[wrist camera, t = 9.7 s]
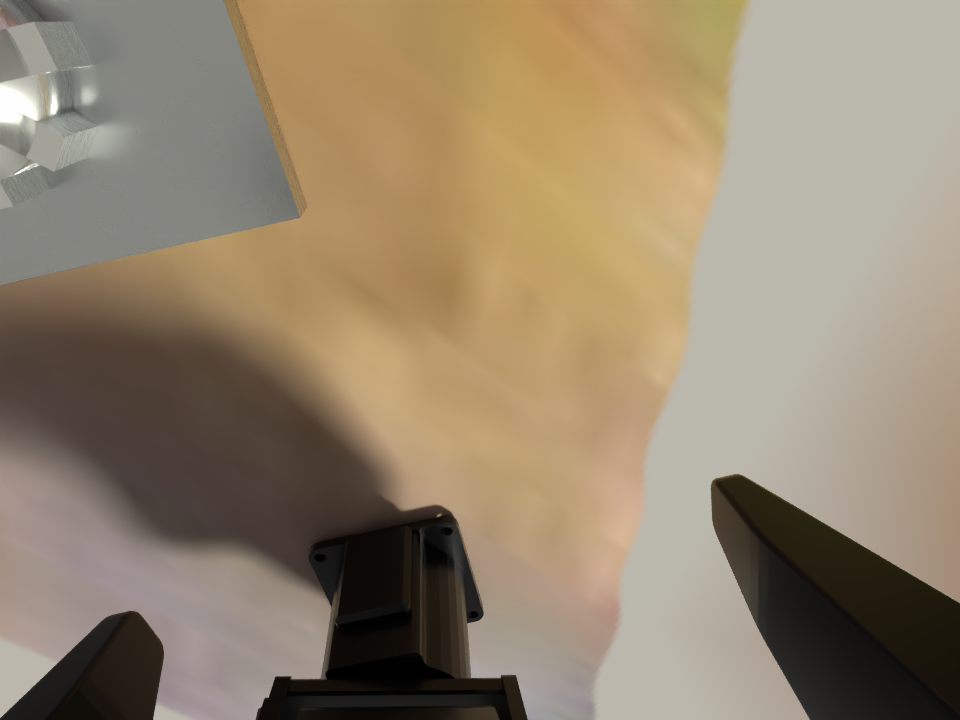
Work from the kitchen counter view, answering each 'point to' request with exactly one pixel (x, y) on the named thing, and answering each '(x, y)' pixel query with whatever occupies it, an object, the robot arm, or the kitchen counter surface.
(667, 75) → the kitchen counter surface
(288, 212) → the carrier
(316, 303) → the kitchen counter surface
